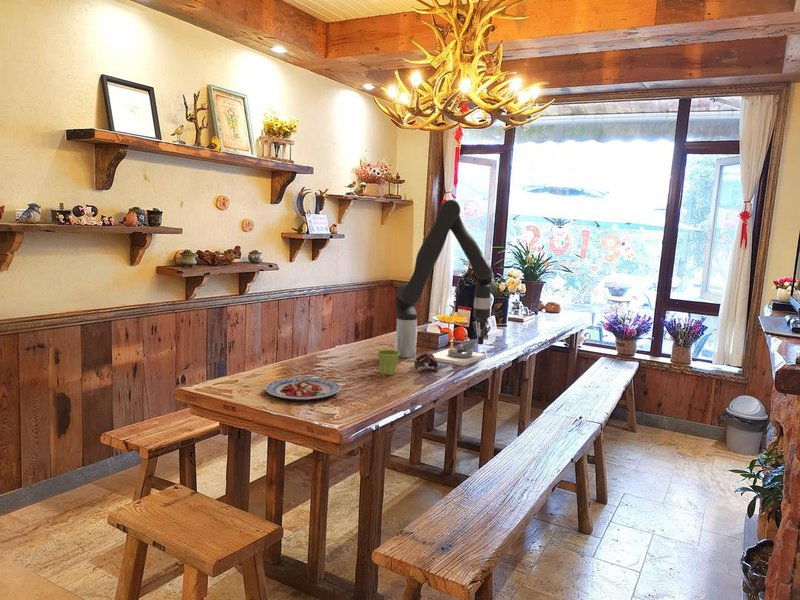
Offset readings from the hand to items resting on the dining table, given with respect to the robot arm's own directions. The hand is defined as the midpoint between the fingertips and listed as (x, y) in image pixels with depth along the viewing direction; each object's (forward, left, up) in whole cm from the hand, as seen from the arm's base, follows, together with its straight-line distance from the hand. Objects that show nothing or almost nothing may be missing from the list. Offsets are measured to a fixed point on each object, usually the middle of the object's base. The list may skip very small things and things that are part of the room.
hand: (480, 344), depth 270 cm
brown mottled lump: (-31, -21, -7) cm, 38 cm away
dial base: (-11, -1, -6) cm, 13 cm away
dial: (-8, 0, -5) cm, 9 cm away
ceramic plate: (-83, -49, -7) cm, 97 cm away
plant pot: (-48, -25, -7) cm, 55 cm away
